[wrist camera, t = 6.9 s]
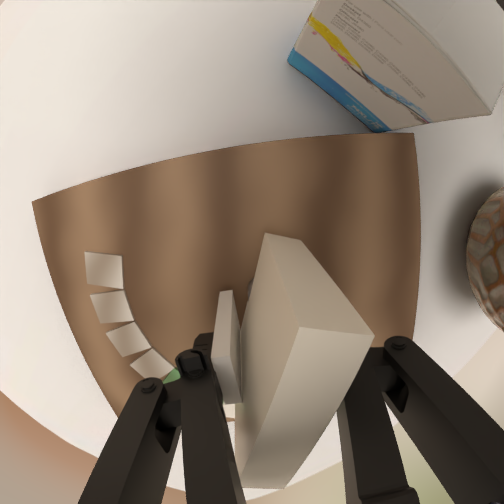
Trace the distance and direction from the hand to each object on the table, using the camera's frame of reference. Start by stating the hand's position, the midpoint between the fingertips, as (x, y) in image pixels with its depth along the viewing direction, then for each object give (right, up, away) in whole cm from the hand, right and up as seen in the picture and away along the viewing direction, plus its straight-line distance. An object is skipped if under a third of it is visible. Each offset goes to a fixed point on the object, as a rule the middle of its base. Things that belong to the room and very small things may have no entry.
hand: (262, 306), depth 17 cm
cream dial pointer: (-1, -3, +2) cm, 4 cm away
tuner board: (-2, -1, +4) cm, 5 cm away
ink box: (+8, +17, 0) cm, 19 cm away
